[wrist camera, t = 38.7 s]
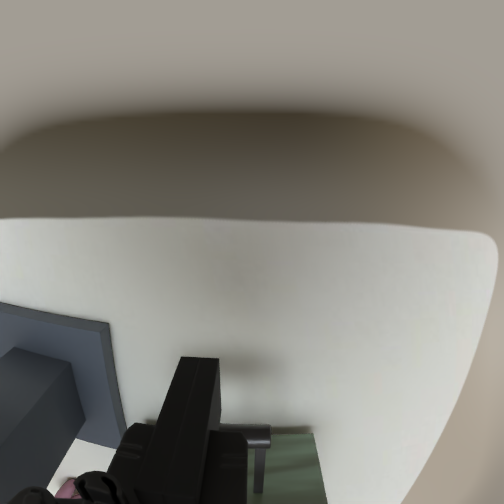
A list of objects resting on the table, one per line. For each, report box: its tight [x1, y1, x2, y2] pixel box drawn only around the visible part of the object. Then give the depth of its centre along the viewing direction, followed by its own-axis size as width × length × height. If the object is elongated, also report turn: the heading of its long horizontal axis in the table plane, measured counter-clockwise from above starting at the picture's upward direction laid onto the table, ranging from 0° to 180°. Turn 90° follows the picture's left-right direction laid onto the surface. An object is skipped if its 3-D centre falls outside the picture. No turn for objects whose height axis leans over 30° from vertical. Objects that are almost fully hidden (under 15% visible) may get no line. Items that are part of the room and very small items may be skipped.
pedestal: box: [0, 303, 127, 504], centre depth 15 cm, size 12×12×14 cm
